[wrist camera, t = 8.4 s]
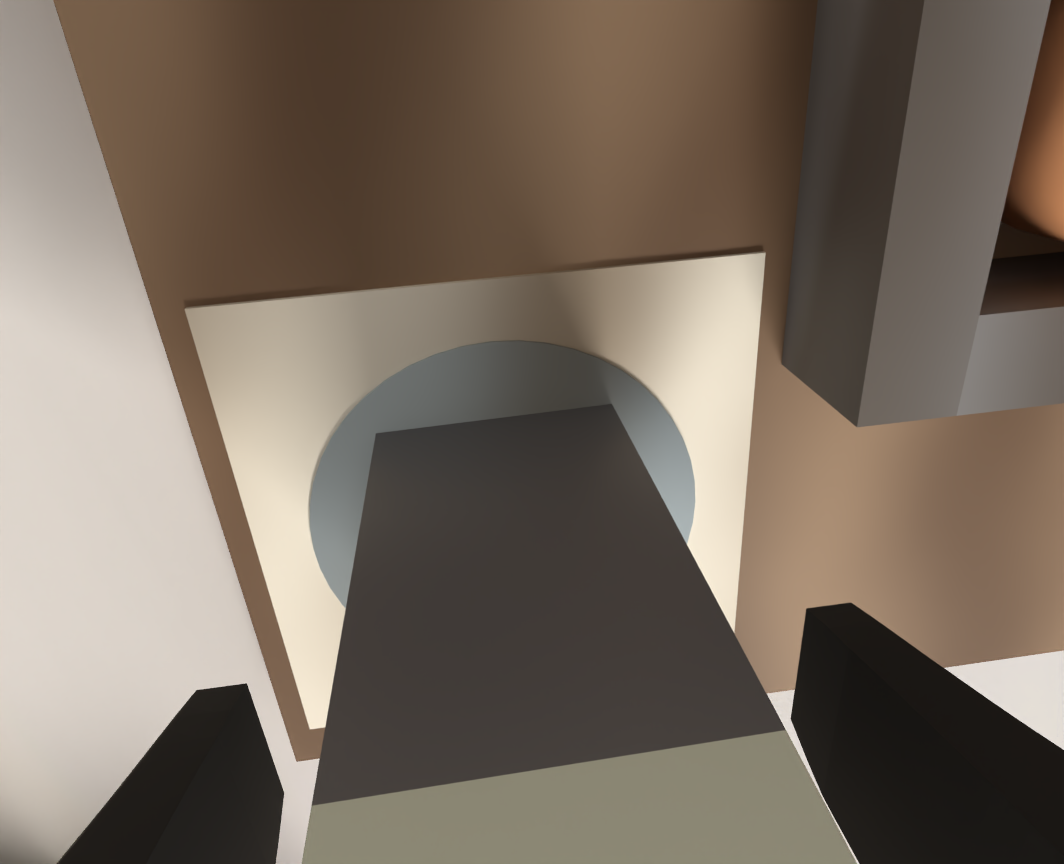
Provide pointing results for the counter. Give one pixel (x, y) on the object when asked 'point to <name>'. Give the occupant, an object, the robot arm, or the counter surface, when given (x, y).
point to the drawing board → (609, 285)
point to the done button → (1042, 142)
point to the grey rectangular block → (545, 670)
